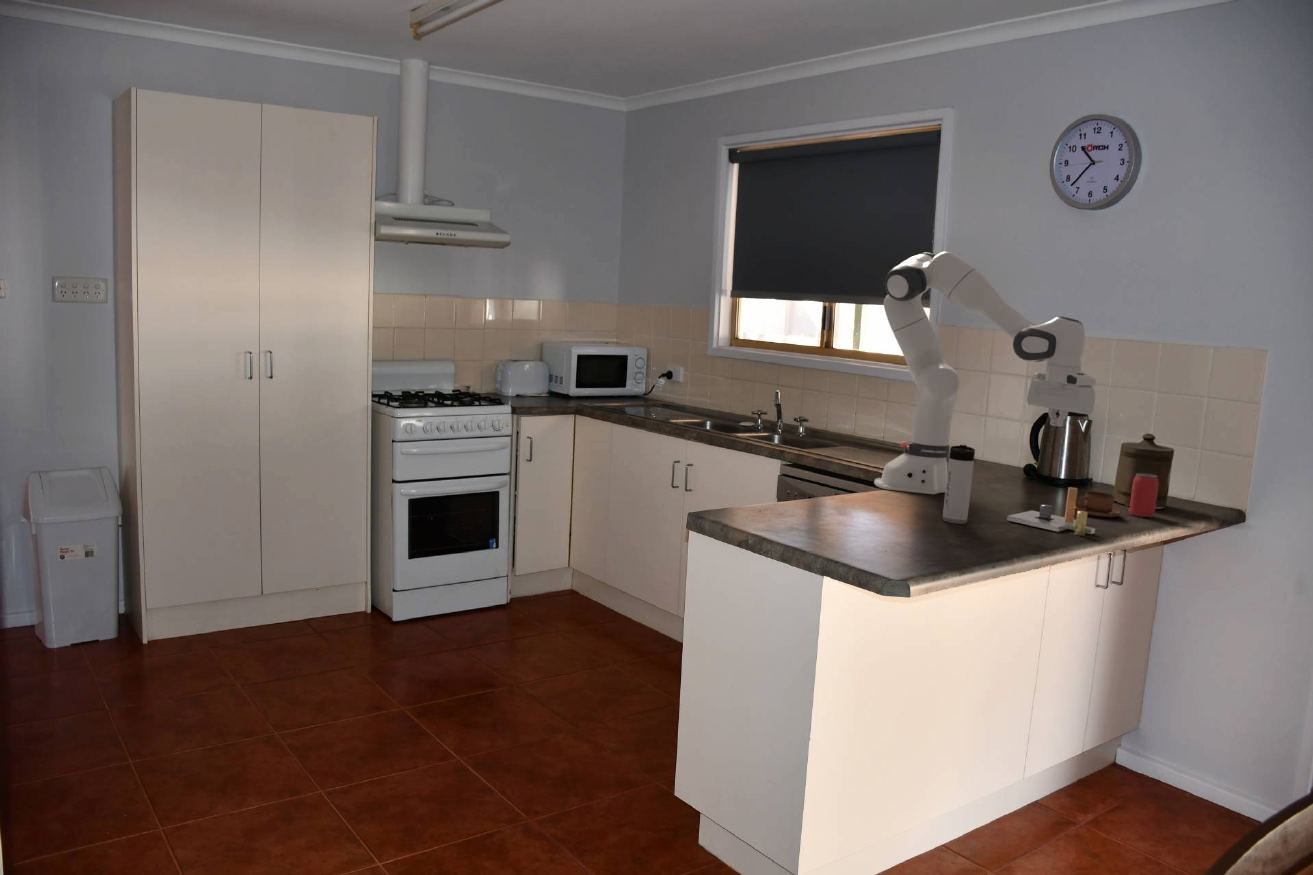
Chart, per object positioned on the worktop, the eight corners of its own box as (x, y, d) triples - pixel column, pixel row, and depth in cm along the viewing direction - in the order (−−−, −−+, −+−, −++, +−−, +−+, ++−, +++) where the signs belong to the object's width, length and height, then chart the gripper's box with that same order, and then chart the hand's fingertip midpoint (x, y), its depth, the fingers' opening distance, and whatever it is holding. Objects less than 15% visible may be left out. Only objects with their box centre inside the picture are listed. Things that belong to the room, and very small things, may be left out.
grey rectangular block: (1040, 524, 262) (1042, 506, 262) (1036, 522, 265) (1038, 504, 265) (1051, 525, 262) (1054, 507, 262) (1047, 523, 265) (1050, 504, 265)
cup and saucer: (1100, 521, 273) (1103, 499, 272) (1065, 511, 284) (1068, 490, 283) (1129, 519, 279) (1132, 497, 278) (1093, 509, 289) (1096, 489, 288)
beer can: (1153, 515, 286) (1159, 474, 284) (1154, 519, 280) (1160, 478, 278) (1128, 511, 289) (1134, 471, 287) (1128, 515, 283) (1134, 474, 281)
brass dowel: (1076, 535, 252) (1079, 512, 251) (1073, 533, 255) (1076, 510, 254) (1086, 536, 252) (1089, 513, 251) (1082, 533, 255) (1085, 511, 254)
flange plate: (1007, 520, 264) (1011, 482, 263) (1031, 514, 274) (1036, 478, 272) (1080, 536, 250) (1086, 497, 248) (1104, 530, 259) (1109, 492, 258)
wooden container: (1177, 509, 297) (1187, 437, 294) (1137, 510, 293) (1147, 436, 289) (1140, 499, 311) (1150, 430, 308) (1101, 499, 307) (1111, 429, 303)
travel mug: (967, 520, 262) (975, 446, 259) (966, 525, 256) (975, 449, 253) (943, 517, 264) (951, 443, 261) (941, 521, 258) (949, 446, 255)
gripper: (1024, 372, 280) (1019, 420, 282) (1085, 379, 262) (1078, 431, 264) (1040, 372, 282) (1034, 420, 284) (1101, 380, 264) (1094, 431, 266)
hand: (1056, 425), depth 274 cm, fingers closed
